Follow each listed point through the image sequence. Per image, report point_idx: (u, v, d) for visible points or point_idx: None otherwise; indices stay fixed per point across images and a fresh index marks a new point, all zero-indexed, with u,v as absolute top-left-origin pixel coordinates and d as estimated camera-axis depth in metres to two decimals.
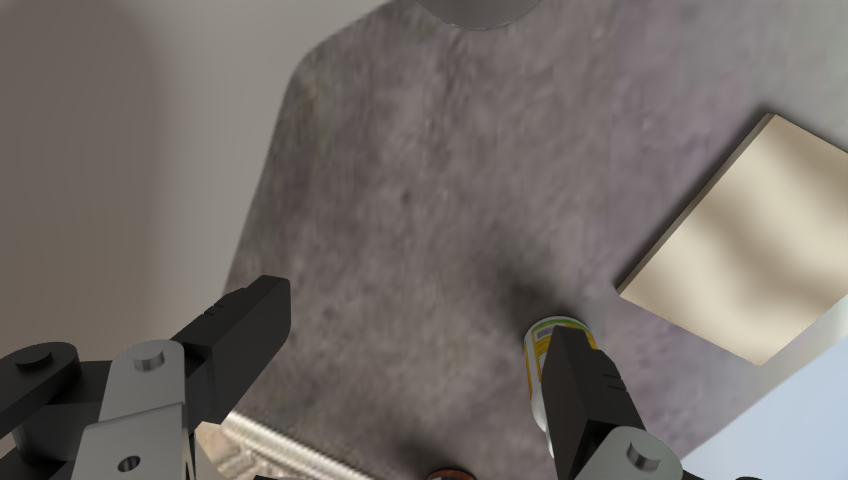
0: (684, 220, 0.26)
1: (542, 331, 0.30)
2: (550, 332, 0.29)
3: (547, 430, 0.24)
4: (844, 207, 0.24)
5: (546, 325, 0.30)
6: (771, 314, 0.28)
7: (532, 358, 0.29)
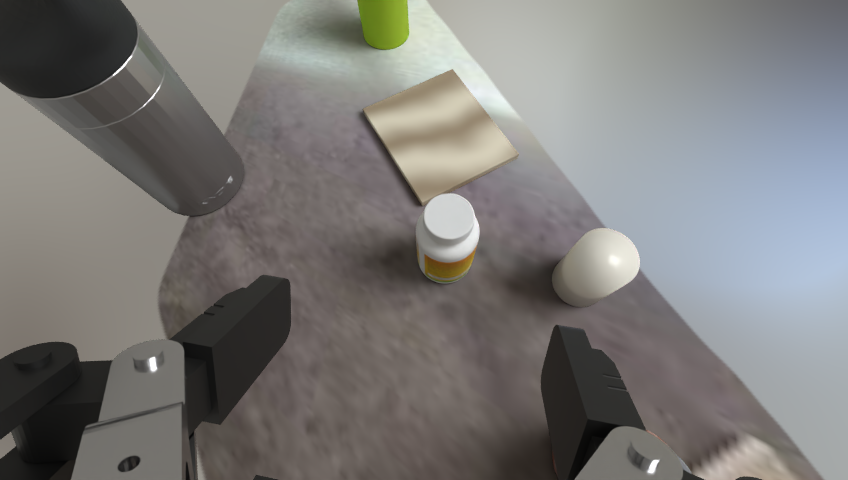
0: (392, 155, 0.43)
1: None
2: None
3: (431, 237, 0.31)
4: (428, 98, 0.46)
5: None
6: (479, 138, 0.44)
7: (421, 259, 0.36)
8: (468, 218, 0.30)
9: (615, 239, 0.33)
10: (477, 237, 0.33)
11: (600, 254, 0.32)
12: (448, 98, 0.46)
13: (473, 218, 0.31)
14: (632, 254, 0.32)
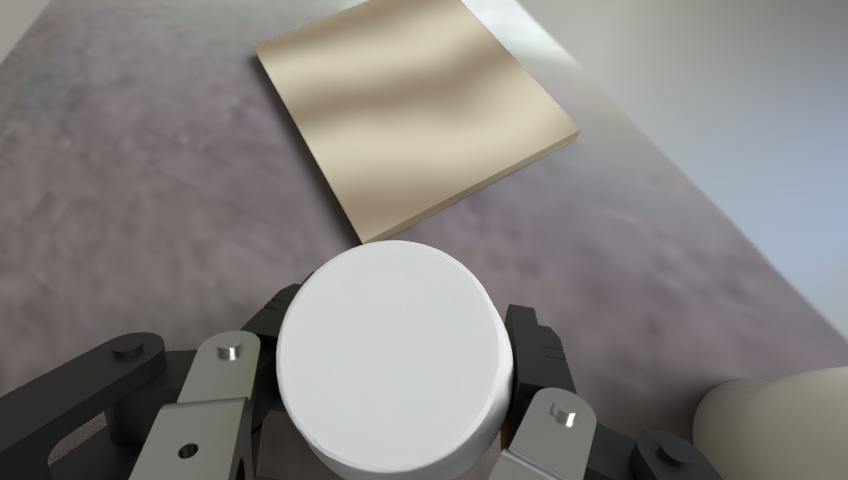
0: (303, 137, 0.20)
1: None
2: None
3: None
4: (386, 25, 0.23)
5: None
6: (493, 99, 0.20)
7: None
8: (475, 358, 0.07)
9: None
10: (506, 399, 0.09)
11: None
12: (426, 24, 0.23)
13: (498, 357, 0.07)
14: None
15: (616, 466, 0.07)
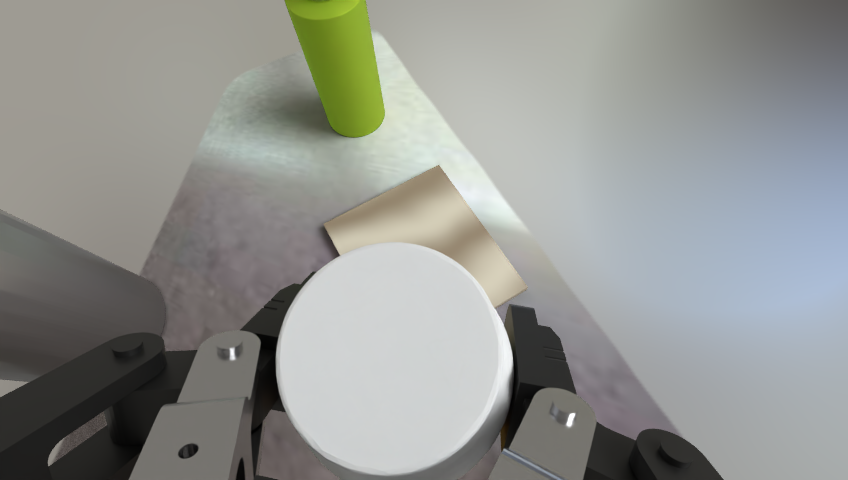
0: None
1: None
2: None
3: None
4: (407, 207, 0.36)
5: None
6: (475, 265, 0.33)
7: None
8: (475, 360, 0.07)
9: None
10: (507, 401, 0.09)
11: None
12: (433, 206, 0.36)
13: (498, 359, 0.07)
14: None
15: (616, 466, 0.07)
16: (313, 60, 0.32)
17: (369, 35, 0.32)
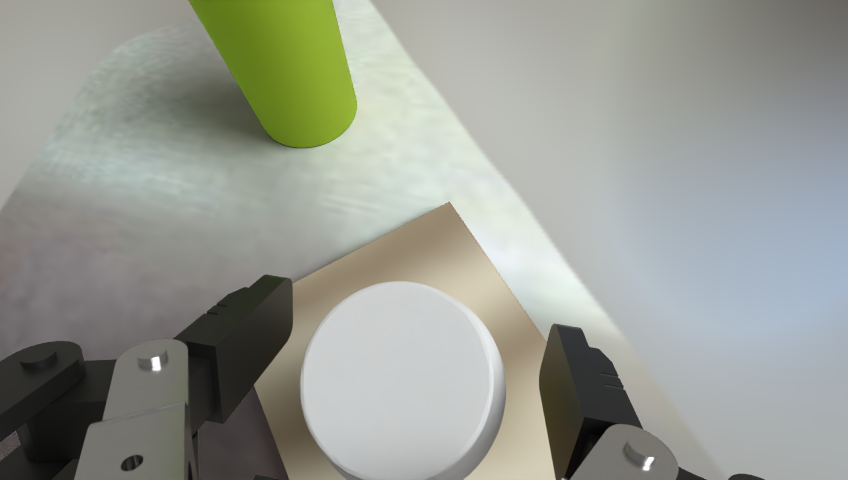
0: (288, 475, 0.16)
1: None
2: None
3: None
4: None
5: None
6: (523, 414, 0.17)
7: None
8: (470, 385, 0.08)
9: None
10: (500, 414, 0.10)
11: None
12: (439, 284, 0.19)
13: (489, 384, 0.08)
14: None
15: None
16: None
17: None
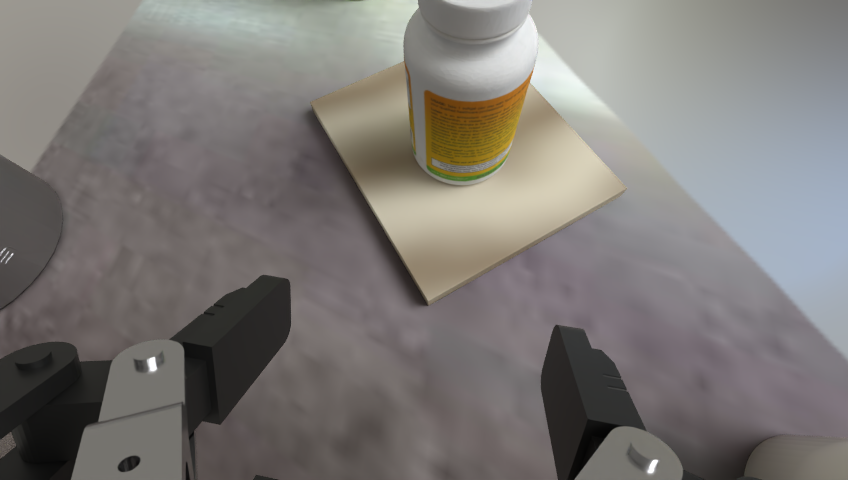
0: (365, 195, 0.21)
1: (410, 130, 0.20)
2: None
3: (439, 21, 0.13)
4: None
5: None
6: (542, 157, 0.22)
7: (417, 127, 0.18)
8: None
9: None
10: (535, 44, 0.15)
11: None
12: None
13: None
14: None
15: None
16: None
17: None
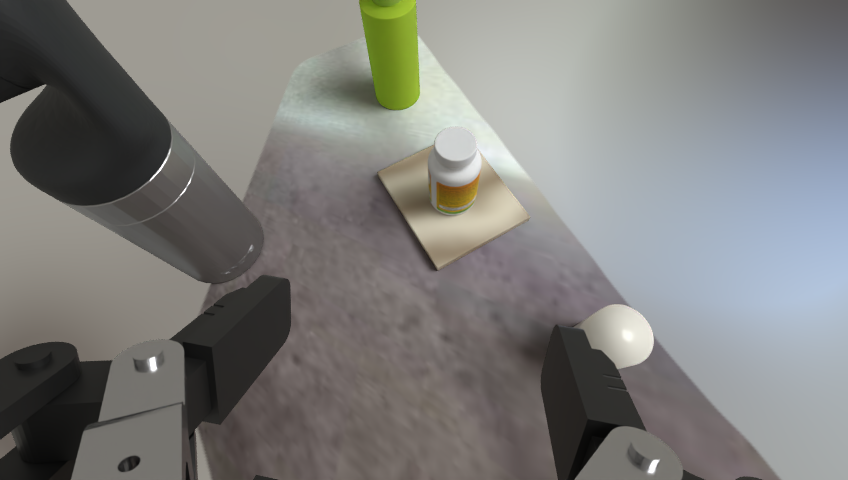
0: (407, 220, 0.45)
1: None
2: None
3: (442, 162, 0.37)
4: None
5: None
6: (491, 201, 0.45)
7: (433, 192, 0.42)
8: (472, 144, 0.37)
9: (629, 316, 0.34)
10: (479, 164, 0.39)
11: (614, 331, 0.33)
12: None
13: (476, 144, 0.37)
14: (646, 331, 0.33)
15: None
16: (375, 49, 0.44)
17: (416, 30, 0.44)
